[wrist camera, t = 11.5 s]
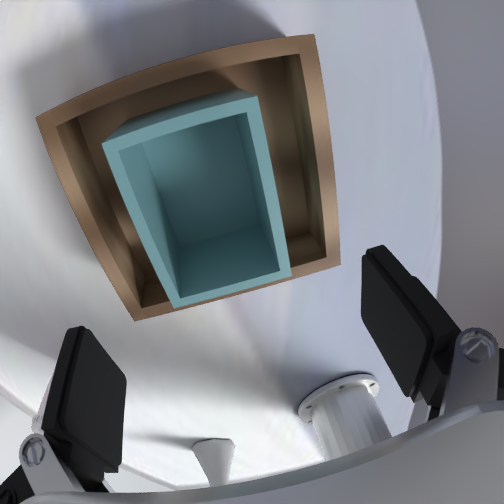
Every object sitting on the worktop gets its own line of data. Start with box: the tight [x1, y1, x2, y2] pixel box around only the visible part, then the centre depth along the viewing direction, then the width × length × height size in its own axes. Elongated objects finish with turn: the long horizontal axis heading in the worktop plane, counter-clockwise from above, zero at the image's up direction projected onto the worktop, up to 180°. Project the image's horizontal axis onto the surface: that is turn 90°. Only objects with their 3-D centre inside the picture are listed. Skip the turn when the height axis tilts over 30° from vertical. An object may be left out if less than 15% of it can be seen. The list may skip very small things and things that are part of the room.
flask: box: [192, 439, 235, 487], centre depth 41 cm, size 7×7×10 cm
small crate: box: [101, 87, 292, 308], centre depth 18 cm, size 10×7×6 cm
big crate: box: [36, 34, 341, 321], centre depth 19 cm, size 15×15×4 cm
